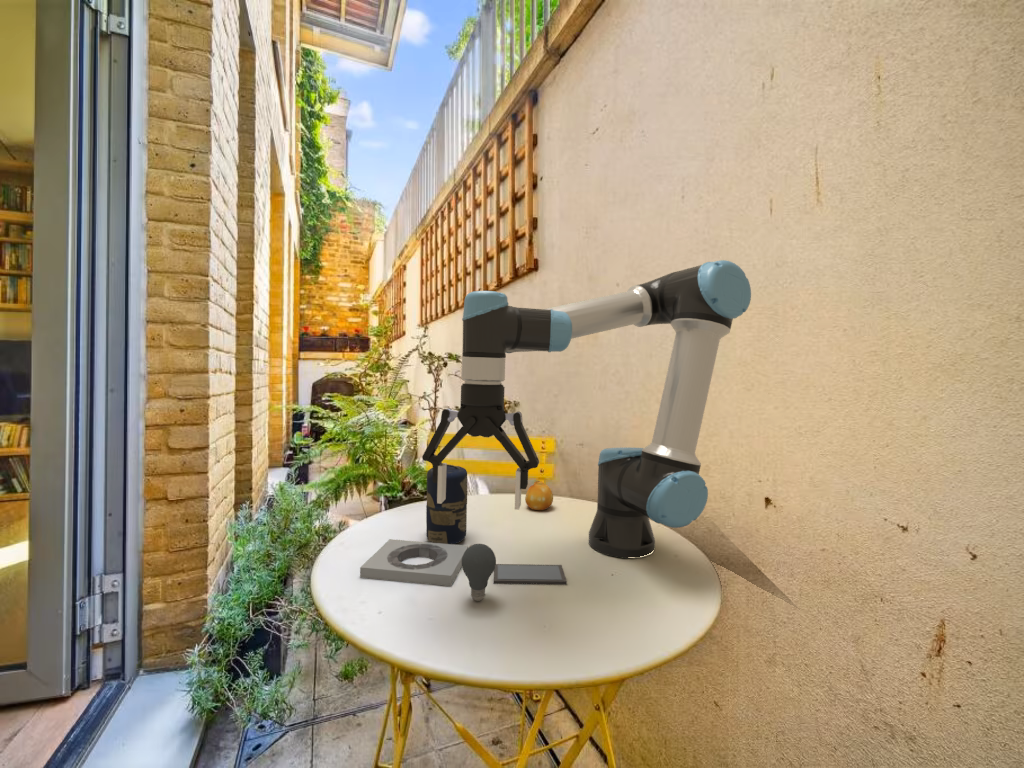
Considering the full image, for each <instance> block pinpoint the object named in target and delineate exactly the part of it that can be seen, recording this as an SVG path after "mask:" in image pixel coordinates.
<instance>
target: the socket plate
mask: <svg viewBox="0 0 1024 768" xmlns="http://www.w3.org/2000/svg"><path fill="white" fill-rule="evenodd" d="M467 548H469V545H464V544H442V543H432V542H430V541H428V542H427V541H417V540H416V541H414V540H404V539H392V538H391V539H388V540H387V541H386V542H385V543H384V544H383V545H382V546H381V547H380V548H379V549H378V550H377V551H375V552H374V554H372V556H370V557H369V558H368V559H367V560H366V561H365V562H364V563H363V564H362V565H361V566H360V567H359V578H360V579H371V580H383V581H391V582H393V581H394V582H403V583H411V584H412V583H414V584H424V585H435V586H445V587H452V585H453V584H454V581H455V580H456V578H457V577H458V574H459V572H460V571H461V568H462V557H463V554H464V552H465V551H466V549H467ZM412 558H429V559H432V560H431V561H429V562H427V563H420V564H409V563H404V561H405V560H408V559H412Z"/></svg>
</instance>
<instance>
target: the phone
mask: <svg viewBox="0 0 1024 768" xmlns="http://www.w3.org/2000/svg"><path fill="white" fill-rule="evenodd" d="M492 581H493V584H494V585H498V584H499V585H537V586H538V585H539V586H540V585H543V586H544V585H549V586H551V585H552V586H553V585H554V586H556V585H557V586H562V585H563V586H567V585H568V584H567V579H566V575H565V571H564V568H563V565H562V564H533V563H532V564H529V563H527V564H522V563H521V564H520V563H517V564H514V563H513V564H512V563H504V564H503V563H496V565H495V569H494V571H493V579H492Z"/></svg>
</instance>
